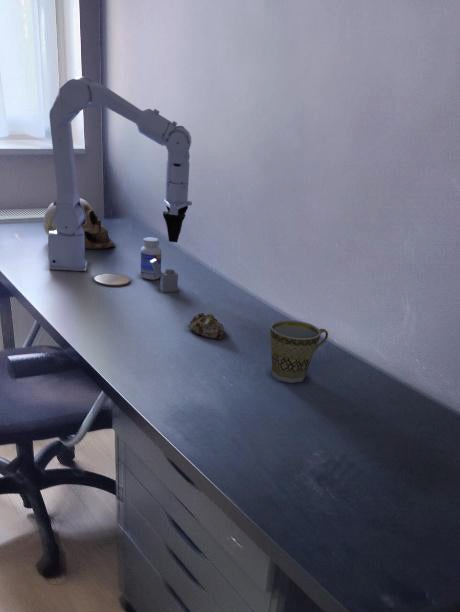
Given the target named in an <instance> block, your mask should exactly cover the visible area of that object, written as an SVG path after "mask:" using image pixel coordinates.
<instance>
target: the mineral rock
mask: <svg viewBox="0 0 460 612" xmlns="http://www.w3.org/2000/svg"><path fill="white" fill-rule="evenodd" d="M188 329H189V332H193V333H195V334H198V335H201V336H202V337H205V338H208V339H209V338H210V339H214V340H218V341H219V340H222V338H224V337H225V334H226V331H225V330H224V325H223V323H221V322H219V321H218V319H217V318H215V316H214V314H212V313H207V314H205V313H203V312H199V313H198V314H196V315H194V316H193V317H192V319H191V320H190V321H189V323H188Z"/></svg>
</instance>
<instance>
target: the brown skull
mask: <svg viewBox="0 0 460 612" xmlns="http://www.w3.org/2000/svg"><path fill="white" fill-rule="evenodd" d="M80 202H81V205H82V207H83V209H84V211H85V220H84V222H83V223H82V224H81V225H82V228H83V229H84V240H85V249H89V250H95V249H96V250H98V249H102V250H103V249H108V248H112V247H115V243H114V241H113V240H112V239H111V238H110V236H109V231H108V229H107V228H106V227H105V225H103V224H102V220H101V219H99V217H98V214H97V213H95V209H94V208H93V206H91V205H90V204H89V202H88V201H87V200H85V199H83V198H81V197H80ZM55 213H56V201H54V202H53V201H52V202H51V203H50V204H49V206H48V207H47V209H46V211H45V213H44V217H43V230H44V232H45V234H46V235H47V236H48V233H49V231H56V229H57V228H56V226H55V224H54V216H55Z"/></svg>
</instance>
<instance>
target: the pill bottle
mask: <svg viewBox="0 0 460 612" xmlns="http://www.w3.org/2000/svg"><path fill="white" fill-rule="evenodd" d="M142 243H143V246H142V247H141V248H140V277H141V278H143V279H146V280H153V281H154V280H159V279H161V276H160V277H157V276H156V274H155V272H154V269H153V267H152V265H151V262H150V261H151V260H153V259H154V258H155V259H156V260H157V262H158V265H159V267H160V269H161V270H162V249H161V248H160V247H159V245H160V239H159V238H157V237H151V236H150V237H149V236H147V237H144V238H143V241H142Z"/></svg>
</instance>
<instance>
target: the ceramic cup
mask: <svg viewBox="0 0 460 612" xmlns="http://www.w3.org/2000/svg"><path fill="white" fill-rule="evenodd" d="M323 333H325V335H324V338H323V339H322V340H321V341H320V339H321V335H322V334H323ZM269 335H270V337H269V338H270V339H269V340H270V355H271V356H270V357H271V374H272V377H274V379H275V380H277V381H278V382H279V381H280V382H284V383H289V384H295V383H302V382H303V381H304V379H305V378H306V375H307V372H308V369H309V367H310V363H311V360H312V357H313V355H314V353H315V352H316V351H317V350H318V348H320V347H321V346H322V345H323V344H324V343H326V341H327V340H328V337H329V332H328V331H327V329H325V328H319V327H317V326H315V325H314V324H311V323H309V322H305V321H301V320H296V319H295V320H294V319H293V320H292V319H283V320H278V321H274V322H272V323H271V324H270V327H269ZM319 341H320V342H319Z"/></svg>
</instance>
